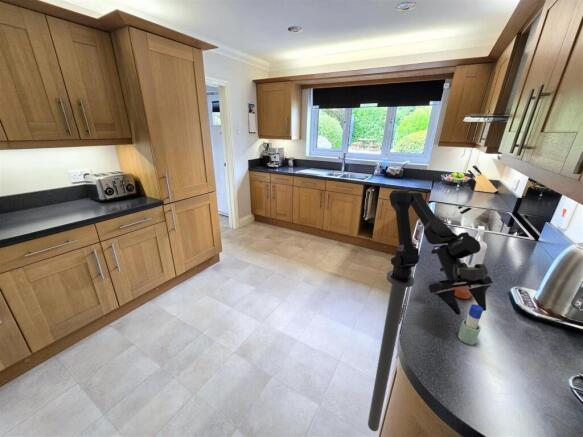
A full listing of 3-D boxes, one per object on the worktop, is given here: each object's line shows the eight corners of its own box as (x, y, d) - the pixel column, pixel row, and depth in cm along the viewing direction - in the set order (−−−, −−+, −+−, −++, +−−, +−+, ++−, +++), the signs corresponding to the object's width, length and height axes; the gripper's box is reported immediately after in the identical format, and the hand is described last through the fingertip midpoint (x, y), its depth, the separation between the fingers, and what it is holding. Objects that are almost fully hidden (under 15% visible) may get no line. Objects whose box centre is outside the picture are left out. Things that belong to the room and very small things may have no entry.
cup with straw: (450, 284, 103) (461, 246, 97) (476, 294, 97) (489, 254, 91) (444, 294, 97) (455, 253, 91) (471, 305, 90) (485, 262, 85)
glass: (456, 337, 76) (460, 323, 74) (461, 330, 79) (465, 317, 77) (473, 347, 73) (478, 333, 71) (477, 339, 75) (482, 325, 73)
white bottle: (455, 286, 101) (471, 231, 93) (459, 274, 110) (473, 223, 102) (475, 293, 97) (493, 236, 89) (477, 279, 106) (493, 227, 98)
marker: (460, 337, 76) (469, 306, 72) (463, 332, 77) (472, 302, 74) (471, 342, 73) (481, 312, 70) (474, 338, 75) (484, 307, 71)
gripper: (443, 258, 71) (467, 314, 64) (495, 252, 75) (522, 305, 68) (420, 267, 81) (438, 317, 74) (467, 262, 84) (488, 309, 78)
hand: (472, 312), depth 73 cm, fingers open, 9 cm apart
